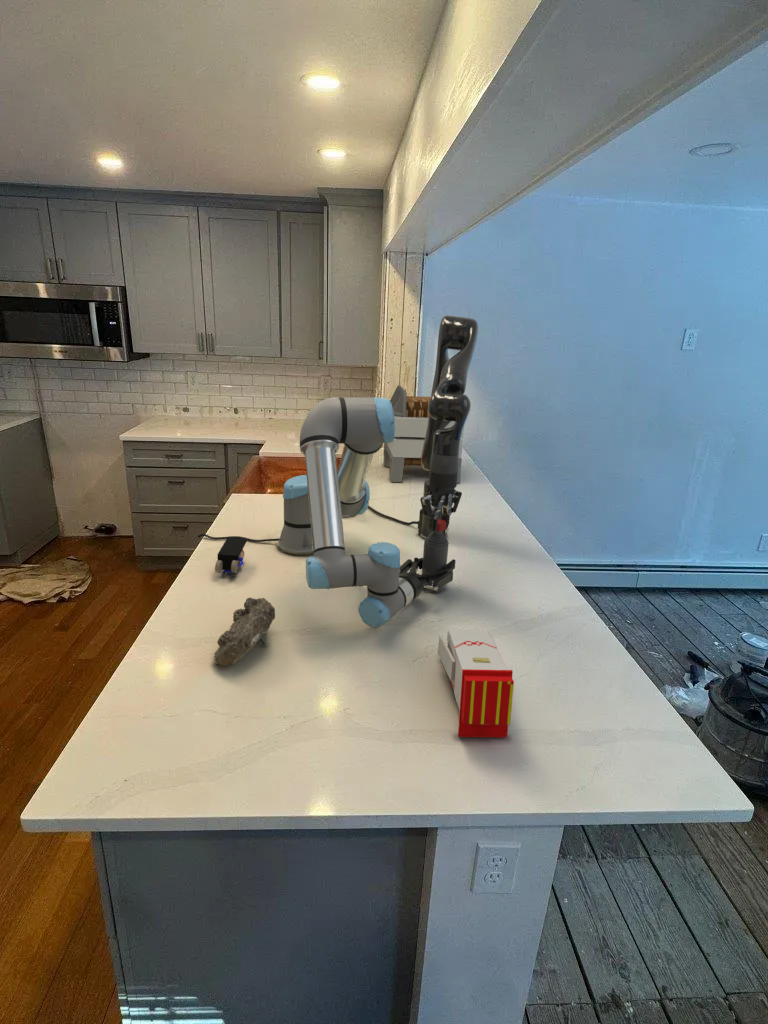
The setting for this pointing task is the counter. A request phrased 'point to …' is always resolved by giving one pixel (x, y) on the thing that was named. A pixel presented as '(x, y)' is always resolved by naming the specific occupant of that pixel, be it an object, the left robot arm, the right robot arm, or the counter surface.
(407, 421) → the grey boxy piece
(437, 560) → the bottle
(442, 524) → the cap
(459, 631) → the toy
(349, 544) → the counter surface
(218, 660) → the fossil
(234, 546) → the black toy car
